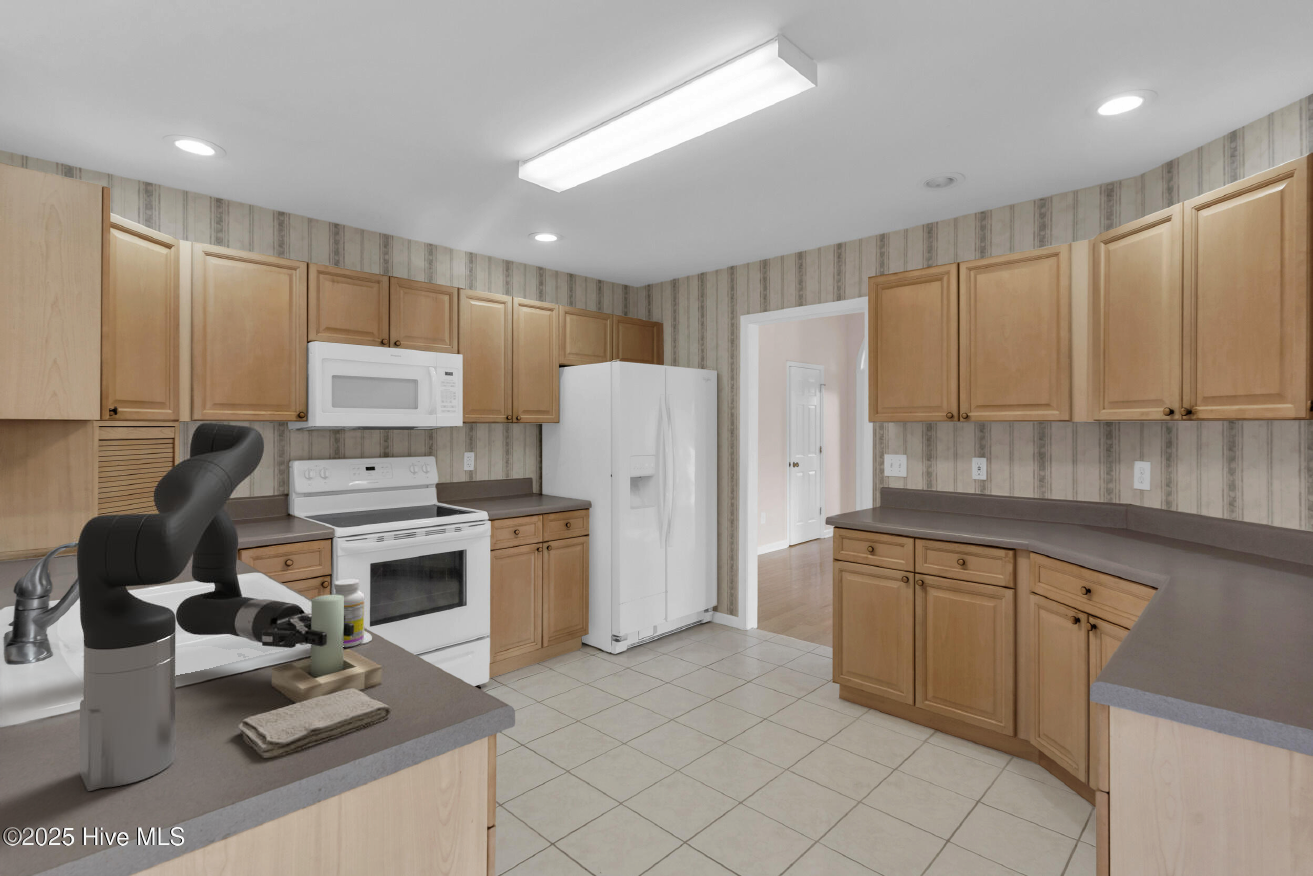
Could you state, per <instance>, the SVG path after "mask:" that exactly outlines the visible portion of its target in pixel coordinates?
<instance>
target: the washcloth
mask: <svg viewBox="0 0 1313 876" xmlns="http://www.w3.org/2000/svg"><path fill="white" fill-rule="evenodd" d="M391 713H392V708H391V707H390V706H389V705H388V704H385V703H383V702H381V701H378V700H377V699H372V698H371V697H370V696H369V695H367V694H366V693H364V692H362V690H356V689H354V688H352V689H346V690H342V691H339V692H336V693H333V694H330V695H325V696H320V697H316V698H312V699H309V700H307V701H303V702H300V703H294V704H289V705H288V706H287V705H286V706H283V707H280V708H277V709H273V710H270V711H266V712H262V713H258V714H256V715H253V716H252V715H251V716H249V717H247V718H245V719H242V721H241V723H240V724H239V725H238V727H237V729H238V730H239V734H240V735H242V739H243V741H244V742H246V744H247V745H248V744H249V745H248V746H250V747H251V746H252V747H251V748H253V749H254V751H255V750H256V751H255V752H256V753H257V754H258V755H259V756H260V757H262V758H264V759H270V758H273V757H279V756H284V755H286V754H290V753H293V752H296V751H295V750H297V751H299V750H302V749H301V748H303V749H305V747H306V748H309V747H310V746H311V747H312V746H313V745H316V744H320V743H322V742H325V741H328V739H329V740H331V739H333V738H336V737H340V736H342V734H343V735H345V734H348V733H351V732H354V731H356V729H357V730H359V729H361V728H360V727H362V728H364V727H363V726H365V727H367V726H366V725H368V726H370V725H369V724H371V725H374V724H377V723H379V721H380V722H381V721H384V720H386V719H387V718H388V717H390V715H391ZM376 722H377V723H376ZM373 723H374V724H373ZM358 728H359V729H358ZM330 738H331V739H330ZM308 746H309V747H308Z"/></svg>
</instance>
